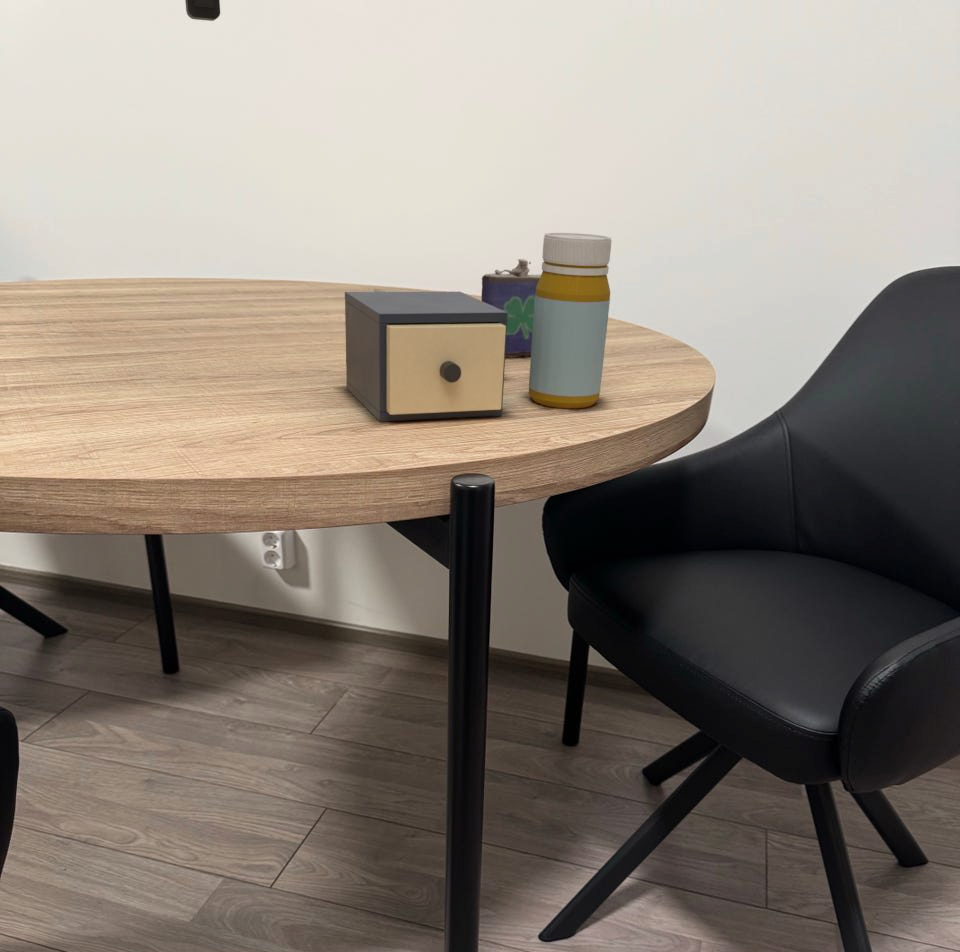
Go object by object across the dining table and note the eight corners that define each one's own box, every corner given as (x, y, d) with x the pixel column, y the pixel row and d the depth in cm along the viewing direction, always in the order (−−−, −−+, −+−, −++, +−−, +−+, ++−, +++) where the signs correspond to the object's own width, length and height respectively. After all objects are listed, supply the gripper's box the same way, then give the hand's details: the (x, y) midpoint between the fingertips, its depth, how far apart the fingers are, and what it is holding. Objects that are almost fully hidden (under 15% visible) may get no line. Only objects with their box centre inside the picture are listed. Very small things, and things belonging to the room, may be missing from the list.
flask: (546, 351, 115) (553, 257, 110) (556, 356, 112) (564, 260, 107) (475, 353, 112) (479, 257, 107) (484, 358, 109) (489, 260, 104)
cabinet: (502, 415, 86) (508, 312, 82) (379, 422, 83) (379, 313, 78) (457, 384, 97) (460, 291, 93) (346, 388, 93) (344, 291, 89)
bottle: (513, 399, 92) (524, 233, 85) (557, 389, 97) (571, 231, 90) (569, 413, 88) (585, 241, 81) (612, 402, 93) (631, 238, 86)
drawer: (506, 413, 84) (511, 328, 80) (393, 418, 80) (394, 330, 77) (459, 381, 94) (462, 304, 91) (358, 384, 91) (356, 305, 87)
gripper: (112, -285, 63) (143, 22, 71) (118, -370, 52) (154, 4, 60) (226, -263, 66) (244, 31, 74) (255, -340, 55) (272, 15, 63)
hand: (203, 18), depth 67 cm, fingers closed
